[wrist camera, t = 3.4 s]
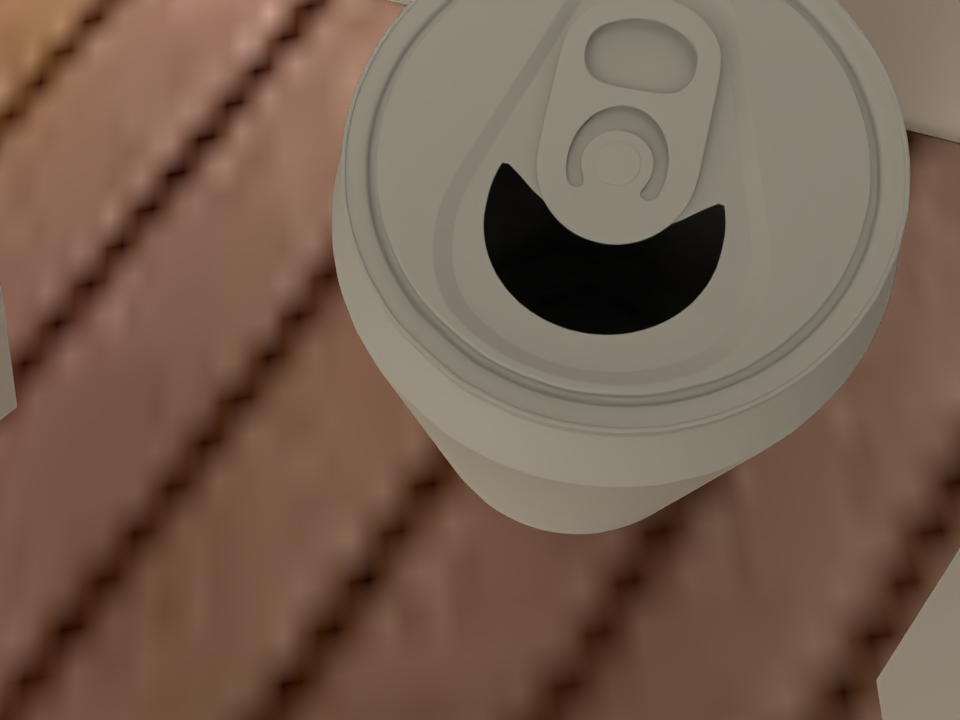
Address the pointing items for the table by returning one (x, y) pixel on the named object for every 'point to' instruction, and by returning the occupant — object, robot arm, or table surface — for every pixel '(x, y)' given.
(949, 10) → the light grey piece
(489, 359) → the beverage can
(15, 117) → the table surface
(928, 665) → the robot arm
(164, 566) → the table surface
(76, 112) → the table surface
